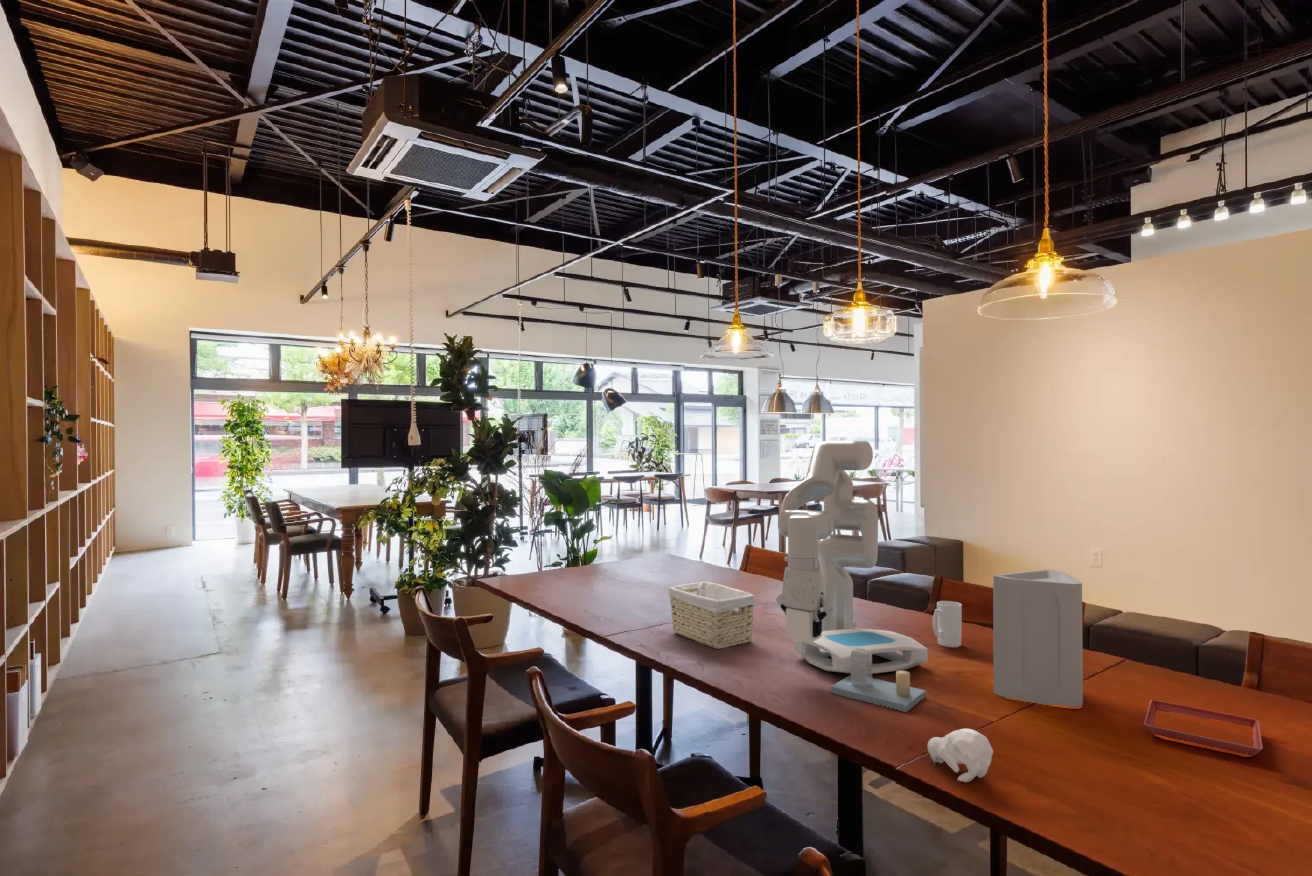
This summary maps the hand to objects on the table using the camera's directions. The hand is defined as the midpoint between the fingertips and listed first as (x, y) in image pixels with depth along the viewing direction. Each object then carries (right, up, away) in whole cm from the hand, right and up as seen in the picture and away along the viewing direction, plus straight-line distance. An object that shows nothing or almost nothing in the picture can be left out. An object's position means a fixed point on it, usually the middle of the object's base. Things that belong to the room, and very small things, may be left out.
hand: (804, 632), depth 174 cm
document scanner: (+17, -11, +10) cm, 23 cm away
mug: (+47, -11, +27) cm, 56 cm away
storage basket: (-21, -12, +35) cm, 42 cm away
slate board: (+15, -11, -12) cm, 22 cm away
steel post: (+12, -10, -10) cm, 18 cm away
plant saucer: (+73, -11, -35) cm, 82 cm away
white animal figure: (+17, -11, -50) cm, 54 cm away
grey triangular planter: (+54, -11, -14) cm, 57 cm away
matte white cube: (0, -1, 0) cm, 1 cm away
